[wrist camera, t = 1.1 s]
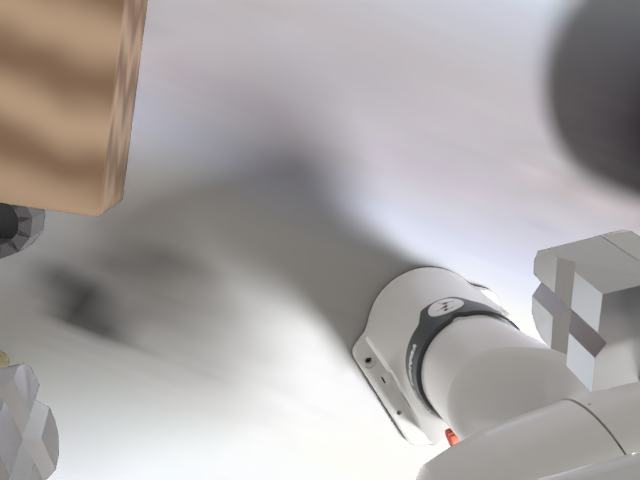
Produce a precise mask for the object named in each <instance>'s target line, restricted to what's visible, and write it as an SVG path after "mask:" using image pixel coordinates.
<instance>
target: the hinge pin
mask: <svg viewBox="0 0 640 480" xmlns="http://www.w3.org/2000/svg"><path fill="white" fill-rule="evenodd" d="M7 366H9V361H8V358H7V356H6V355H5V354H4V353H3V352H1V351H0V368H2V367H7Z"/></svg>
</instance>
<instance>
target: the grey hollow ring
mask: <svg viewBox="0 0 640 480" xmlns="http://www.w3.org/2000/svg"><path fill="white" fill-rule="evenodd" d="M8 205H10V206H11V207H13V209H14V211H15V213H16V215H17V217H18V219H19V223H18V232H17V233H16V235H15V236H14V237H13V238H12V239H10V238H2V237H0V259H1V258H4V257H6V256H9V255H12V254H14V253H17V252H19V251H21V250H23V249H24V248H26V247H28V246H29V245H31V244H32V243H33V242H34V241H35V240H36V238H37V237H38V236H39V235H40V233H41V232H42V231H43V226H44V217H45V211H44V209H41V208H34V207H27V206H20V205H13V204H8Z"/></svg>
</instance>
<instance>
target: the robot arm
mask: <svg viewBox="0 0 640 480" xmlns="http://www.w3.org/2000/svg"><path fill="white" fill-rule="evenodd" d="M533 273H534V275H535V276H536V277H537V278H538V279H539V280H540V282H541V284H540V285H539V287H538V288H537V290H536V291H535V293H534V294H533V296H532V315H533V318H534V322H535V325H536V329H537V330H538V332H539V334H540V336H541V338H542V339H543V340H544V342H545V343H546V344H547V345H546V344H544V343H541V342H539V341H537V340H535V339H534V338H532V337H530V336H528V335H526V334H525V333H523V332H521V331H520V330H519V328H518V327H517V326H516V325H515V324H514V323H513V322H512V321H511V316H510V315H509V313H508V312H506V311H505V310H504V309H503V308H502V307H500V306H499V300H498V296H497V295H496V294H495V293H494V292H493V291H492V290H490V289H487V288H483V287H478V286H473V285H471V284H470V283H468V282H467V281H465V280H464V279H463V278H461V277H460V276H458V275H457V274H455V273H453V272H451V271H448V270H445V269H441V268H435V267H424V268H418V269H414V270H411V271H408V272H406V273H403V274H402V275H400V276H398V277H396V278H395V279H394V280H392V281H391V282H390V283H389V284H388V285H387V286H386V287H385V288H384V289H383V290H382V291H381V292H380V294H379V295H378V297H377V298H376V300H375V302H374V304H373V306H372V308H371V311H370V314H369V318H368V322H367V326H366V328H365V331H364V332H363V333H362V335H361V336H360V337H359V339H358V340H357V342H356V343H355V345H354V347H353V351H352V353H353V356H354V358H355V360H356V361H357V363H358V365H359V366H360V368H361V369H362V371H363V372H364V374H365V376H366V377H367V379H368V380H369V382H370V384H371V385H372V387H373V388H374V390H375V391H376V393H377V395H378V396H379V398H380V399H381V401H382V402H383V404H384V406H385V407H386V409H387V410H388V412H389V414H390V415H391V417H392V418H393V420H394V421H395V423H396V425H397V426H398V428H399V429H400V431H401V432H402V434H403V436H404V437H405V438H406V440H407V441H408V442H409V443H410V444H412V445H417V446H431V445H438V444H450V446H451V447H450V448H448V449H447V450H445V451H444V452H442V453H441V454H439V455H438V456H436V457H435V458H433V459H432V460H430V461H429V462H427V463H426V464H424V465H423V466H422V467H421V468H420V471H419V473H418V475H417V478H416V480H640V236H638V235H637V234H635V233H633V232H632V231H628V230H618V231H614V232H610V233H606V234H603V235H599V236H595V237H592V238H588V239H584V240H580V241H576V242H572V243H568V244H564V245H560V246H556V247H551V248H547V249H543V250H539V251H538V252H537V254H536V257H535V259H534V272H533ZM367 358H371V360H370V361H369V362H365V360H366V359H367ZM38 388H39V383H38V381H37V379H36V377H35V374H34V372H33V370H32V368H31V367H29V366H28V365H26V364H24V363H22V364H17V365H12V366H7V367H2V368H0V480H46V479H47V478H48V477H49V476H50V475H51V474H52V473H53V472H54V471H55V470H56V465H57V460H58V456H59V439H58V431H57V427H56V423H55V419H54V417H53V415H52V412H51V410H50V407H48V406H46V405H44V404H43V403H41V402H39V401H37V400H36V399H35V398H36V394H37V391H38ZM397 411H398V412H397Z"/></svg>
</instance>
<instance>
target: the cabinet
mask: <svg viewBox="0 0 640 480" xmlns="http://www.w3.org/2000/svg"><path fill="white" fill-rule="evenodd" d="M147 2H148V0H0V203H6V204H13V205H20V206H27V207H34V208H41V209H48V210H55V211H62V212H69V213H76V214H83V215H90V216H97V217H98V216H99V215H101V214H102V213H104V212H105V211H107V210H108V209H109V208H111V207H112V206H114V205H115V204H117V203H118V202H120V201H121V200H122V199H123V191H124V183H125V175H126V167H127V159H128V152H129V144H130V136H131V128H132V120H133V112H134V104H135V96H136V88H137V81H138V73H139V65H140V57H141V49H142V41H143V33H144V25H145V18H146V10H147Z"/></svg>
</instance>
